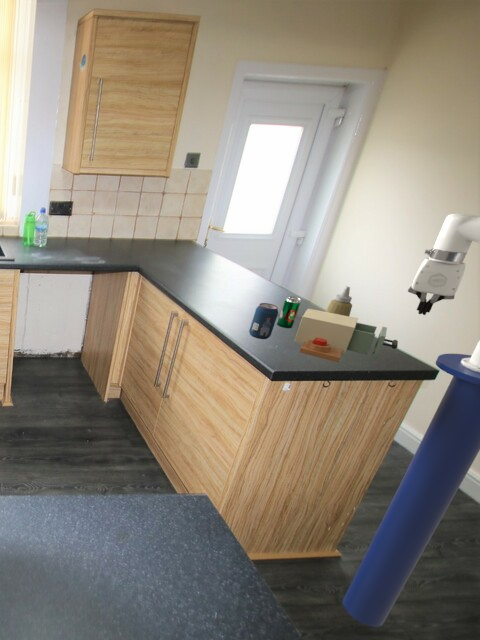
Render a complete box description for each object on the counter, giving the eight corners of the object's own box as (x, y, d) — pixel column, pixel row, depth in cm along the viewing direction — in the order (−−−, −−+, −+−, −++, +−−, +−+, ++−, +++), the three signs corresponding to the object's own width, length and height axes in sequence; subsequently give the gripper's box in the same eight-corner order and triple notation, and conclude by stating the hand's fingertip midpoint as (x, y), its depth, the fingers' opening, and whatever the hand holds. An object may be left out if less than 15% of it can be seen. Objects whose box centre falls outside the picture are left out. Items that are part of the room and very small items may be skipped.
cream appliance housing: (348, 343, 169) (358, 318, 165) (344, 354, 160) (354, 327, 156) (299, 332, 177) (308, 308, 174) (294, 342, 169) (302, 316, 165)
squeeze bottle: (317, 332, 178) (334, 287, 170) (317, 325, 184) (334, 281, 176) (343, 338, 174) (362, 292, 166) (342, 331, 180) (361, 286, 172)
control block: (340, 355, 159) (344, 345, 158) (338, 362, 154) (342, 352, 152) (302, 345, 166) (305, 336, 164) (298, 352, 160) (302, 342, 159)
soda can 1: (257, 331, 176) (267, 301, 171) (274, 339, 171) (284, 308, 165) (243, 333, 174) (253, 303, 169) (259, 341, 168) (270, 310, 163)
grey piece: (392, 351, 161) (401, 330, 158) (391, 362, 153) (401, 340, 149) (330, 337, 171) (338, 317, 168) (326, 346, 163) (334, 325, 160)
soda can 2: (278, 323, 185) (288, 295, 180) (293, 327, 182) (303, 298, 177) (274, 327, 182) (284, 298, 177) (289, 331, 179) (299, 301, 173)
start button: (326, 344, 159) (328, 339, 158) (325, 347, 157) (326, 342, 156) (313, 341, 161) (315, 336, 161) (312, 344, 159) (313, 339, 158)
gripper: (414, 253, 143) (391, 310, 151) (483, 262, 134) (454, 322, 142) (414, 250, 149) (391, 305, 156) (480, 258, 140) (453, 316, 147)
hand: (421, 313), depth 149 cm, fingers closed
